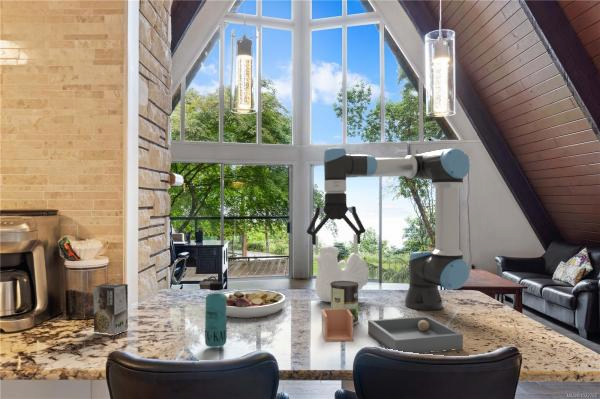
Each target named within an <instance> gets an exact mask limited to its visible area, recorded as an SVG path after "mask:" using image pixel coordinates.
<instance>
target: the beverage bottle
mask: <svg viewBox="0 0 600 399" xmlns="http://www.w3.org/2000/svg"><path fill="white" fill-rule="evenodd" d="M208 290H209V291H213V292H210V293H209V294H207V295H206V296H205V315H204V318H205V319H204V343H205V346H206V347H209V348H218V347H222V346H224V345H226V344H227V338H228V337H227V336H228V335H227V333H228V328H227V319H228V316H226V299H227V297H226V295H225V294H223V293H224V292H220V291H222V290H224V283H223V282H222V281H211V282H209V288H208Z"/></svg>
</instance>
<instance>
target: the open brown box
mask: <svg viewBox="0 0 600 399" xmlns="http://www.w3.org/2000/svg"><path fill="white" fill-rule="evenodd" d="M321 335H322V337H323V339H324V342H353V341H354V325H353V315H352V314H351V312H350V311H349V309H348V308H346V309H331V308H321Z"/></svg>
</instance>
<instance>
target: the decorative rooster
mask: <svg viewBox="0 0 600 399" xmlns="http://www.w3.org/2000/svg"><path fill="white" fill-rule="evenodd" d="M339 253H340V250H339V247H337V246H333V245H326V246H321V247H320V248H319V254H318V255H316V257H314V260H315V261H316V262H317V264H316V266H317V268H316V272H317V275H316V279H315V284H314V290H315V293H316V295H317V297H318V298H319V300H321V301H322V302H326V303H331V285H330V283H331V282H334V281H353V282H357V283H358V291H360V290H362V289H363V287H364V286H366V285H367V284H368V281H369V277H370V269H369V267H368V265H367V262H366V261H365V260H364V258H362V257H360V255H359V253H357V254H355V253H354V252H351V253H350V254H349V256H348V257H347V259H346V261H345V259H343V260H340V261H339V260H338V255H339ZM342 264H344V267H341V265H342Z"/></svg>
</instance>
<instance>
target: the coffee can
mask: <svg viewBox="0 0 600 399" xmlns="http://www.w3.org/2000/svg"><path fill="white" fill-rule="evenodd" d="M330 285H331V302H330V309H346V308H348V309H349V311H350V312H351V314H352V315H353V326H354V325H357V324H358V323H359V290H358V283H357V282H353V281H334V282H331V283H330Z"/></svg>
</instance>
